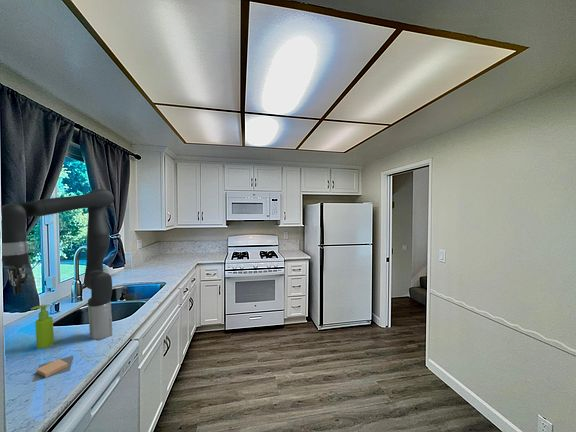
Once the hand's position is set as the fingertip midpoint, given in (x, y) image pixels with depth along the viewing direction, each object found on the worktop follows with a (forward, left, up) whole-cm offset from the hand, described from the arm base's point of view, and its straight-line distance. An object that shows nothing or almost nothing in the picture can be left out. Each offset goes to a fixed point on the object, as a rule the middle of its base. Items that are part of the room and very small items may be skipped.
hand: (18, 294), depth 103 cm
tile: (-9, +9, -30) cm, 32 cm away
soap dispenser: (-4, -14, -31) cm, 34 cm away
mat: (-11, +11, -31) cm, 35 cm away
